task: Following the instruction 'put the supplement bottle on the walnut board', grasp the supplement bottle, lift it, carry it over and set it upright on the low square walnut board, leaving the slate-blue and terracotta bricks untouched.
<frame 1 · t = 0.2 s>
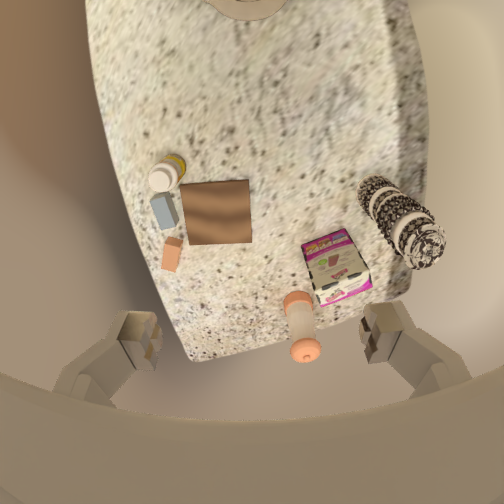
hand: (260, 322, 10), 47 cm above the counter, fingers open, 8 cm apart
target board: (217, 212, 59), on the counter
pepper shaker: (297, 301, 73), on the counter
decorative candle: (372, 191, 56), on the counter
brick terracotta: (173, 250, 65), on the counter
supplement bottle: (174, 166, 54), on the counter
candy bar box: (325, 244, 64), on the counter
brick blue: (167, 207, 59), on the counter
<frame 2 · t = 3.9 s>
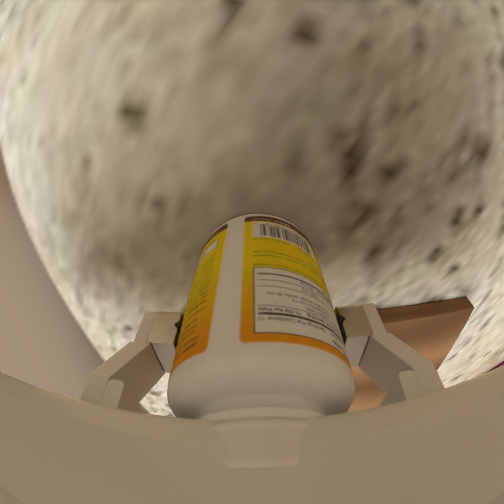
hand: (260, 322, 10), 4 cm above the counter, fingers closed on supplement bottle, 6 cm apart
target board: (363, 371, 19), on the counter
supplement bottle: (258, 258, 14), on the counter, touching gripper
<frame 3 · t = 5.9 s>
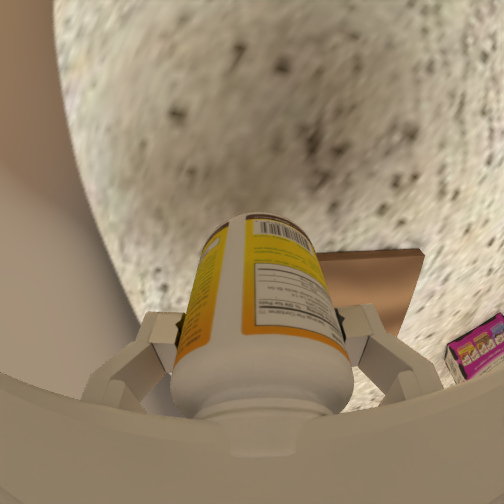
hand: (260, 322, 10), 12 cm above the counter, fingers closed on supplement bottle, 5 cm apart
target board: (341, 312, 26), on the counter
supplement bottle: (258, 256, 14), point 7 cm above the counter, touching gripper
candy bar box: (473, 335, 30), on the counter
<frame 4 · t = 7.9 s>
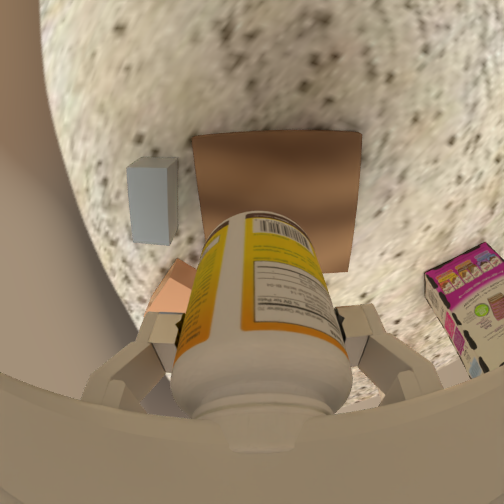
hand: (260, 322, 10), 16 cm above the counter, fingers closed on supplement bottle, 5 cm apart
target board: (279, 206, 25), on the counter
brick terracotta: (176, 285, 31), on the counter
supplement bottle: (258, 254, 14), point 12 cm above the counter, touching gripper
candy bar box: (456, 268, 30), on the counter
brick blue: (160, 192, 25), on the counter
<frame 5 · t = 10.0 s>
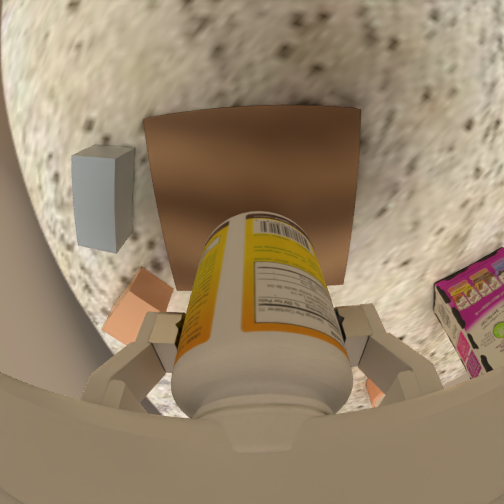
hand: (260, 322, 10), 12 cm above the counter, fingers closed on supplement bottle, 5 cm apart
target board: (256, 202, 20), on the counter
brick terracotta: (141, 297, 25), on the counter
supplement bottle: (258, 255, 14), point 7 cm above the counter, touching gripper
candy bar box: (469, 278, 24), on the counter
brick blue: (114, 188, 20), on the counter
when the fingers open (6 cm above the counter, at t = 11.6 s): supplement bottle stays where it is, resting on target board.
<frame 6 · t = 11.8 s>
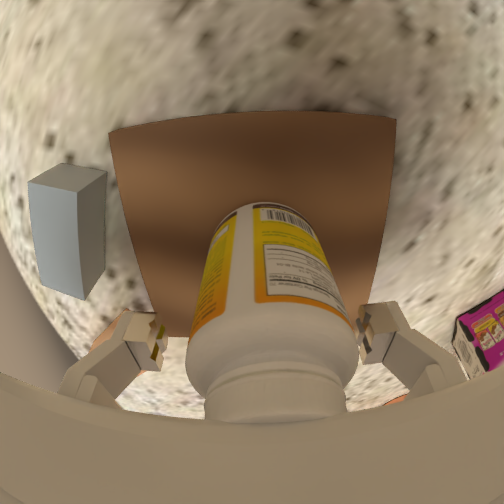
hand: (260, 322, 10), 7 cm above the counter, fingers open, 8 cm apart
target board: (257, 238, 16), on the counter
brick terracotta: (125, 336, 21), on the counter
supplement bottle: (264, 245, 15), point 1 cm above the counter, touching target board
candy bar box: (491, 307, 20), on the counter
brick blue: (83, 217, 15), on the counter
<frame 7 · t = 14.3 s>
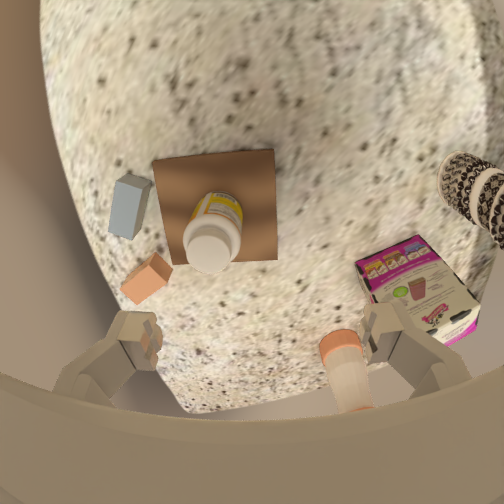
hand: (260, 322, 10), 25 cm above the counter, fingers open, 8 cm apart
target board: (218, 208, 34), on the counter
pepper shaker: (338, 342, 47), on the counter
decorative candle: (457, 178, 31), on the counter
brick terracotta: (149, 272, 39), on the counter
supplement bottle: (220, 210, 33), point 1 cm above the counter, touching target board
candy bar box: (390, 259, 38), on the counter
brick blue: (134, 201, 34), on the counter
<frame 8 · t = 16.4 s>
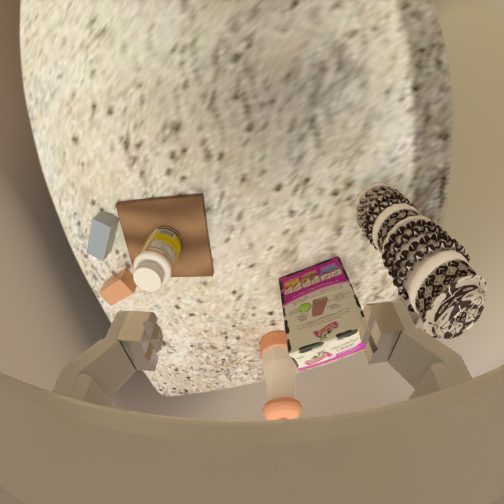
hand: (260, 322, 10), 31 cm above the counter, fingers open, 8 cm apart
target board: (166, 237, 44), on the counter
pepper shaker: (277, 341, 57), on the counter
decorative candle: (377, 207, 41), on the counter
brick terracotta: (121, 281, 49), on the counter
supplement bottle: (166, 240, 43), point 1 cm above the counter, touching target board
candy bar box: (312, 276, 48), on the counter
brick blue: (106, 230, 44), on the counter
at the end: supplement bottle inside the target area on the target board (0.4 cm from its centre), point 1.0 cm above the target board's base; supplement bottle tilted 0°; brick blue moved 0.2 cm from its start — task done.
